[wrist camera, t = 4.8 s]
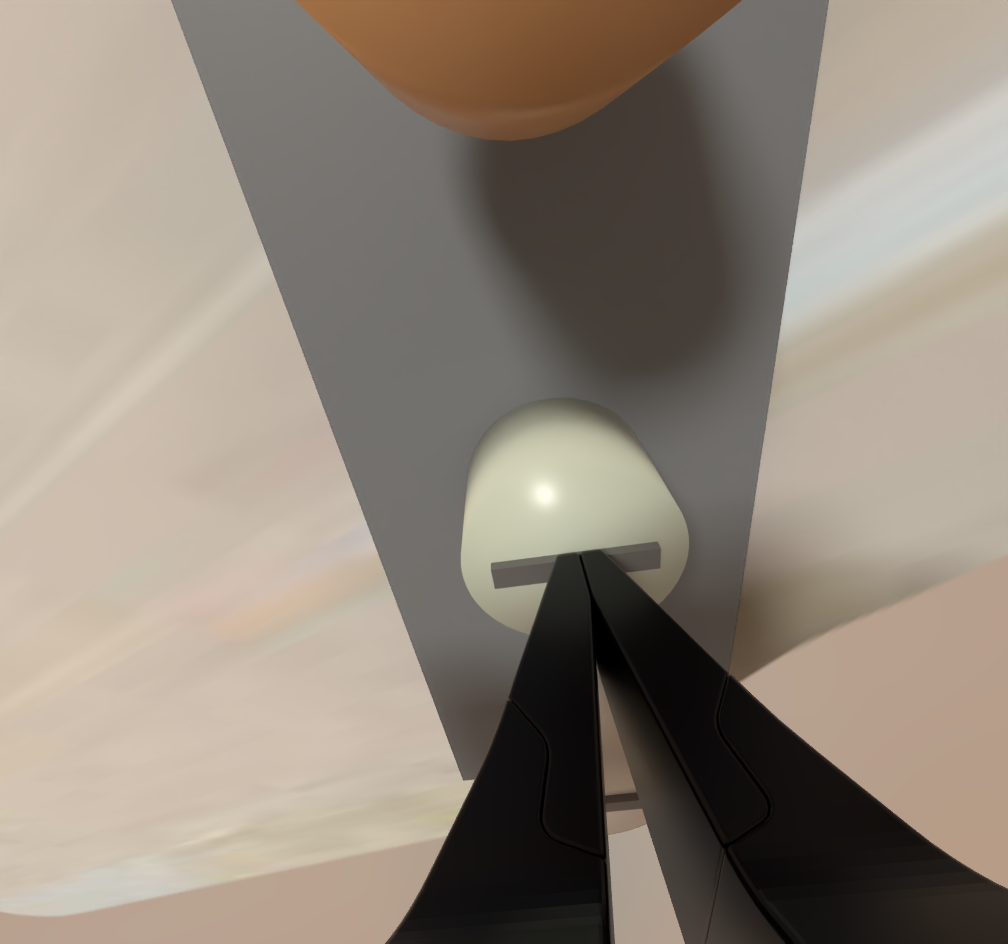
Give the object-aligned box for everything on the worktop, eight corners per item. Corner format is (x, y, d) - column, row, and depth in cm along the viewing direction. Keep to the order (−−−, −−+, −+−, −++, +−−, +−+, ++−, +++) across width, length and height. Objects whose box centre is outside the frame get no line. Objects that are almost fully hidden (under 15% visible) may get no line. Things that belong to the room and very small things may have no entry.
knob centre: (611, 340, 13) (700, 452, 8) (615, 471, 16) (687, 633, 10) (460, 364, 14) (437, 489, 8) (485, 489, 16) (481, 657, 10)
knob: (620, 576, 18) (680, 758, 12) (622, 652, 20) (674, 836, 14) (505, 590, 18) (511, 776, 12) (520, 663, 20) (531, 849, 15)
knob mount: (763, -384, 8) (942, -762, 5) (684, 675, 21) (716, 754, 18) (172, -242, 8) (-15, -496, 5) (467, 699, 22) (463, 780, 19)
